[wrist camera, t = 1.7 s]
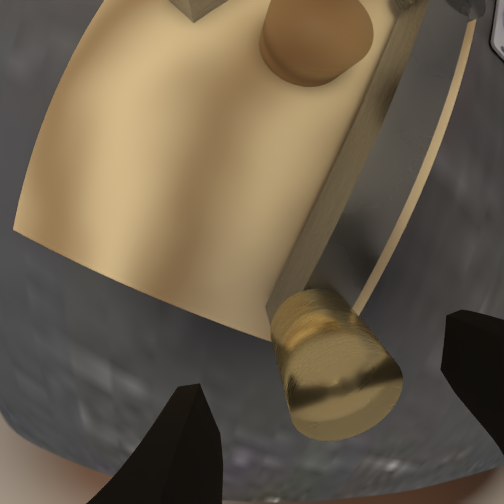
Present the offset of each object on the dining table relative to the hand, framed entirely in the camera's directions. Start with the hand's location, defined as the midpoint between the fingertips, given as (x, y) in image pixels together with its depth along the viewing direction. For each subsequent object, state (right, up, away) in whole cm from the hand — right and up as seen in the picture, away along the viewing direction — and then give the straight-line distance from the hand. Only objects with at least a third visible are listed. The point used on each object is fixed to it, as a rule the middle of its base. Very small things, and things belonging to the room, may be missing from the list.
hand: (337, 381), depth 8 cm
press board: (-2, +11, +5) cm, 13 cm away
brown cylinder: (0, +12, +4) cm, 13 cm away
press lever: (+3, +9, +4) cm, 10 cm away
